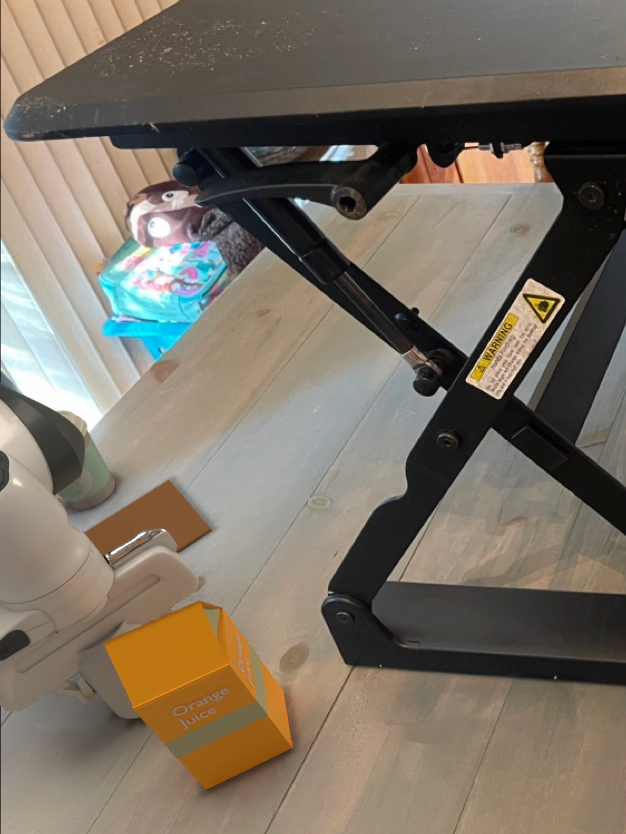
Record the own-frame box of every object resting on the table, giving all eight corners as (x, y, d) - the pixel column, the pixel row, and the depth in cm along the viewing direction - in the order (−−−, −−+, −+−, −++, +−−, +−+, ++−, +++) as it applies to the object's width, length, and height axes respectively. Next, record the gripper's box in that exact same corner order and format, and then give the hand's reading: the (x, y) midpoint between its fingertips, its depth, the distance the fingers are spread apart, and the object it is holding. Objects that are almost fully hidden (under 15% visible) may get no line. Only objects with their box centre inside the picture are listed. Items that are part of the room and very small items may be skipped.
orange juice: (293, 748, 107) (202, 629, 95) (205, 791, 105) (100, 675, 92) (284, 689, 113) (197, 570, 100) (200, 729, 111) (100, 612, 98)
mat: (103, 602, 127) (101, 600, 127) (66, 546, 136) (64, 544, 135) (211, 530, 134) (210, 528, 134) (170, 481, 142) (168, 479, 142)
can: (159, 652, 119) (105, 586, 112) (200, 677, 116) (147, 609, 109) (102, 707, 115) (41, 641, 107) (142, 734, 111) (82, 667, 104)
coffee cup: (46, 515, 141) (-6, 452, 134) (89, 468, 147) (41, 405, 140) (97, 520, 139) (47, 456, 131) (139, 472, 145) (93, 408, 138)
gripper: (149, 506, 111) (209, 588, 119) (-57, 636, 101) (25, 716, 109) (172, 534, 107) (232, 617, 115) (-40, 672, 97) (43, 752, 106)
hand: (130, 666), depth 112 cm, fingers closed on can, 7 cm apart
